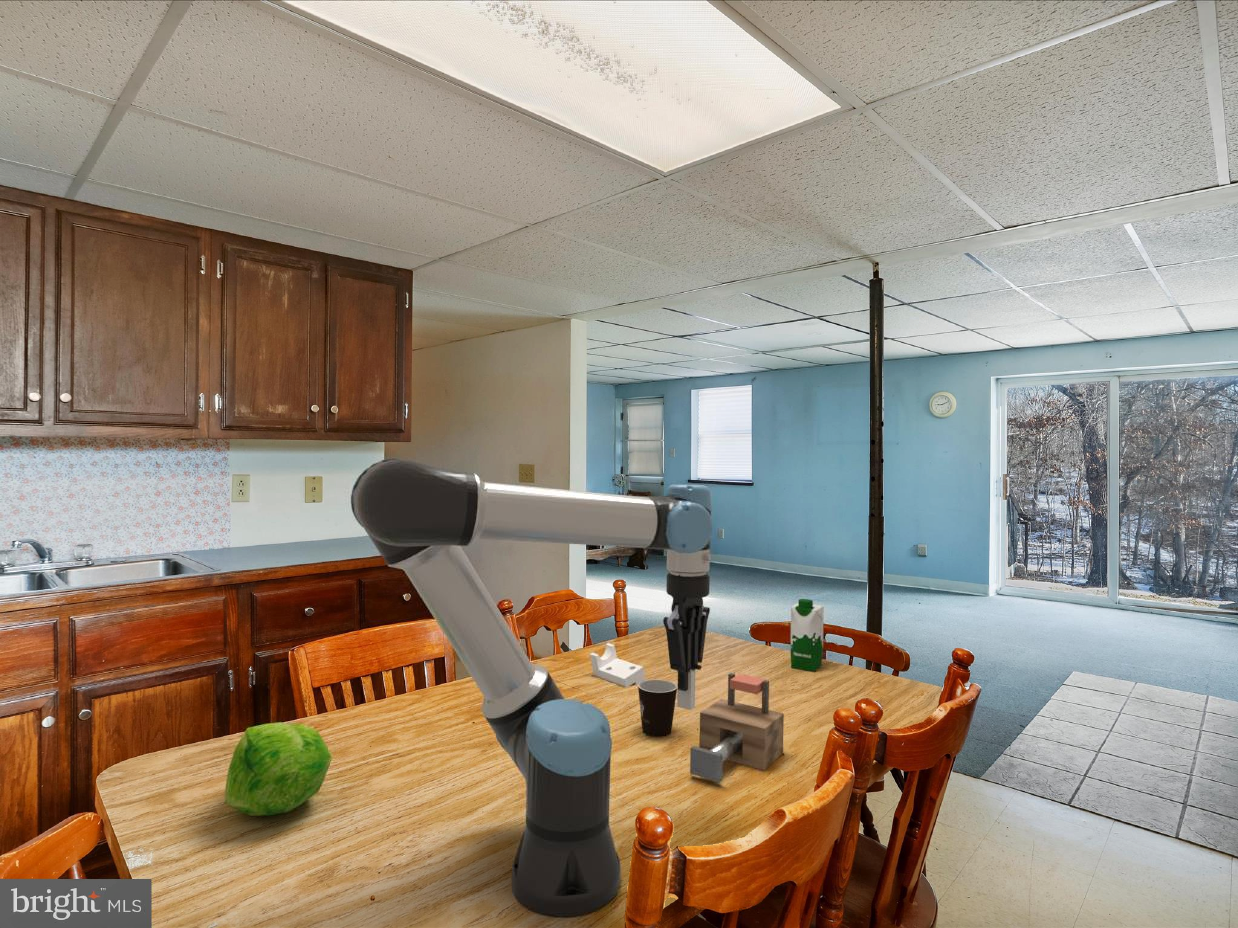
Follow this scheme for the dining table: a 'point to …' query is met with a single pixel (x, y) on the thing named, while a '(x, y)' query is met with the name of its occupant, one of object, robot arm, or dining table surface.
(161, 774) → the dining table surface
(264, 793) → the lettuce
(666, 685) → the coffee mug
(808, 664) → the milk carton
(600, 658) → the bracket
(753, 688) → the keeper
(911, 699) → the dining table surface
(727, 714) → the block
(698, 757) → the pin
